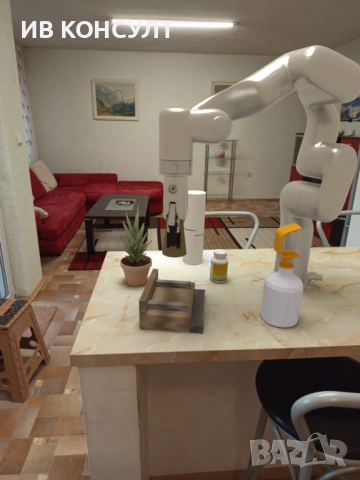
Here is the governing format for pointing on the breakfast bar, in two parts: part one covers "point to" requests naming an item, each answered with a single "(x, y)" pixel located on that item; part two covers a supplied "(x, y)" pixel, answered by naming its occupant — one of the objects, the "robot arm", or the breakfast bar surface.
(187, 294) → the loading dock
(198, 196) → the cylindrical container
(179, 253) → the olive rounded upright piece
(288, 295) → the soap bottle
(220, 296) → the breakfast bar surface
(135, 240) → the potted plant
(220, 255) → the supplement bottle
